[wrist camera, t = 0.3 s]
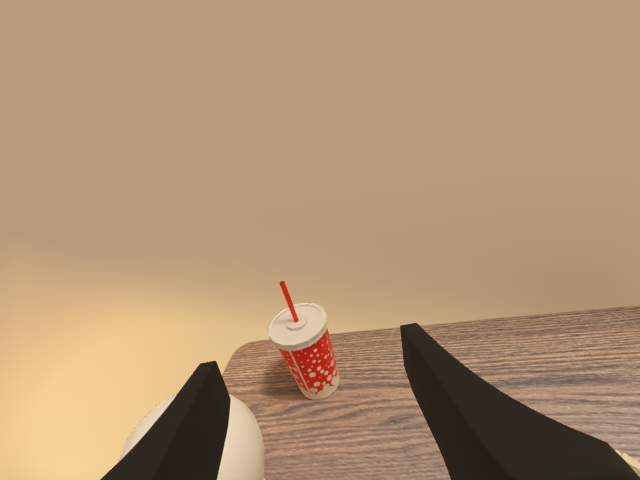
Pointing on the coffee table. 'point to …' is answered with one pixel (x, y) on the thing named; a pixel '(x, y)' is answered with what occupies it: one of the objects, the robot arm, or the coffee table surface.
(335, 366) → the beverage cup
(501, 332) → the coffee table surface
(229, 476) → the toy character
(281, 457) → the coffee table surface
